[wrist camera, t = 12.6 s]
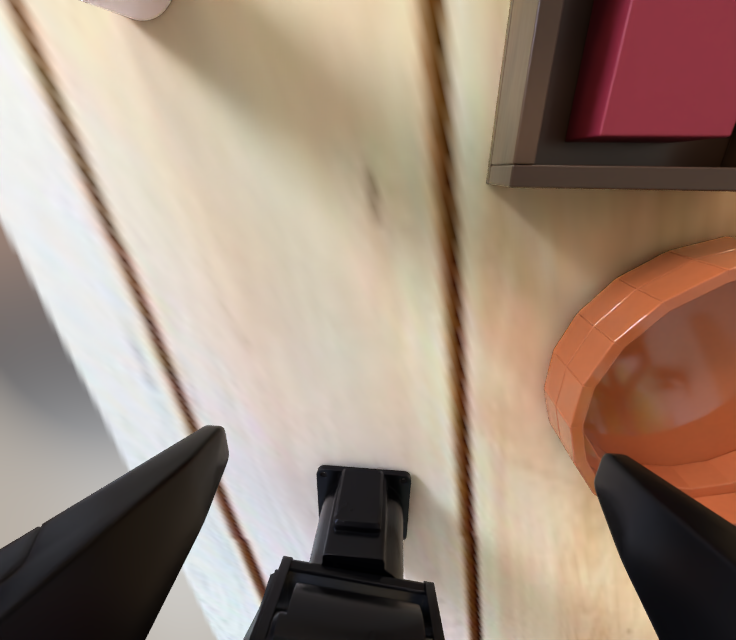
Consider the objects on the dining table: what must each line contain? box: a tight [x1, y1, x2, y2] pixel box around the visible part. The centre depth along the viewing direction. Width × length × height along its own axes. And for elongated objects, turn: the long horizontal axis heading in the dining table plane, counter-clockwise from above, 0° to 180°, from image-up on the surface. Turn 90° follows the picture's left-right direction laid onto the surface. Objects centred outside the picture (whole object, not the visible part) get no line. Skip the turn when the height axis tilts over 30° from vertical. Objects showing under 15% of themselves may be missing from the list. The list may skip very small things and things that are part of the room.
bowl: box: [544, 237, 736, 526], centre depth 18 cm, size 15×15×4 cm
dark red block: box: [565, 0, 736, 143], centre depth 13 cm, size 7×4×3 cm, turn 179°
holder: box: [486, 0, 736, 191], centre depth 13 cm, size 11×11×4 cm
